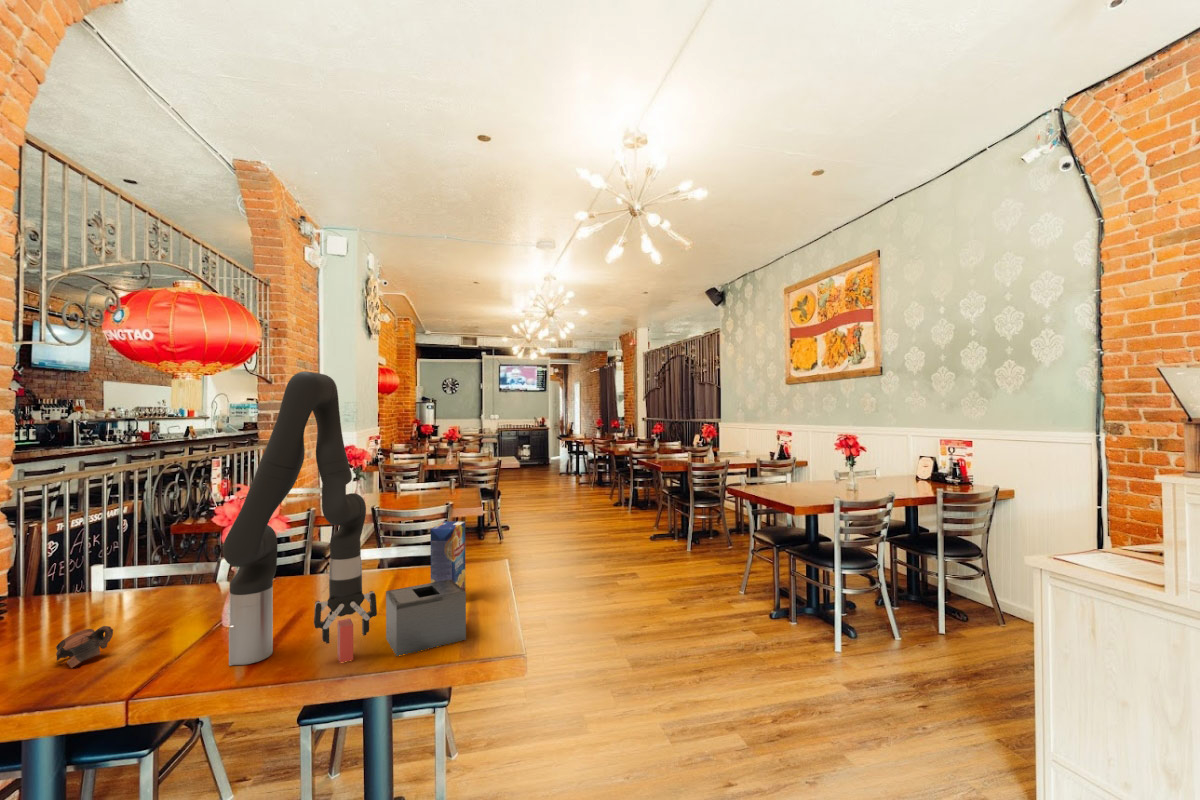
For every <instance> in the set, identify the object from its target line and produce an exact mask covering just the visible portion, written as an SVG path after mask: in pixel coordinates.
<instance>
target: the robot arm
mask: <svg viewBox="0 0 1200 800" xmlns="http://www.w3.org/2000/svg"><path fill="white" fill-rule="evenodd" d="M339 404H340V403H339V391H338V387H337V384H336V381H335V380H334V379H333V378H332V377H331V376H329V375H327V374H323V373H319V372H313V371H299V372H297V373H295V374H294V375H292V376H291V378H290V379H289V380H288V382H287V385H286V386H285V390H284V393H283V396H282V400H281V404H280V407H279V411H278V415H277V419H276V422H275V424H274V426H273V429H272V432H271V434H270V436H269V437H270V438H269V439H268V442H267V444H266V446H265V450H264V451H263V454H262V456H261V459H260V461H259V463H258V466H257V468H256V472H255V474H254V477H253V480H252V483H251V485H250V487H249V489H248V492H247V494H246V496H245V500H244V502H243V505H242V507H241V509H240V511H239V513H238V515H237V516H236V519H235V521H234V522H233V524H232V526H231V528H230V530H229V531H228V533H227V535H226V537H225V539H224V541H223V545H222V555H223V559H224V560H225V562H226V563H227V564H228V565H230V566H231V567H235V568H238V570H237V572H236V574H235V575H234V576H233V577H232V579H231V581H230V582H229V624H228V626H229V627H228V666H229V667H230V666H231V667H232V666H245V665H251V664H254V663H259V662H261V661H264V660H265V659H267V658H269V657H270V656H271V655H273V652H274V651H273V650H274V649H273V647H274V642H273V641H274V640H273V639H274V637H273V634H274V633H273V632H274V629H273V628H274V626H273V623H274V622H273V621H274V617H273V616H274V612H273V610H274V609H273V608H274V607H273V606H274V604H273V603H274V601H273V599H274V598H273V593H274V592H273V591H274V587H273V585H274V584H273V583H274V577H275V575H276V573H277V572H276V571H277V567H278V566H277V564H278V562H277V561H278V538H277V537H278V536H277V534H276V532H275V530H274V529H273V527H272V526H270V525H268V524H269V523H270V519H271V518H272V517H273V514H274V513H275V511H276V510H277V509H278V507H279V506H280V505H281V504H282V502H284V500H285V498H287V496H288V495H289V493H290V492H291V490H292V489H293V487H294V486H295V484H296V482H297V480H298V477H299V474H300V472H301V469H302V467H303V465H304V462H305V455H306V454H305V450H306V449H305V441H304V440H305V439H304V438H305V437H304V435H305V429H306V426H307V423H308V421H309V418H310V416H311V414H313V415H314V418H315V421H316V427H317V434H316V435H317V437H316V443H315V444H316V445H315V446H316V447H315V459H316V465H317V470H318V473H319V476H320V479H321V480H320V481H321V511H322V514H323V517H324V519H325V520H326V522H328V523H329V524H330V525H332V526H338V530H337V531H336V532H335V533H334V534H333V535H332V536H331V537H330V541H329V567H328V583H329V584H328V586H329V587H328V590H329V591H328V596H329V597H328V599H327V600H325V601H320V600H316V601H315V602H314V613H313V614H314V616H313V625H314V628H315V629H321V630H322V633H321V634H322V635H321V636H322V637H321V638H322V641H323V643H325V644H326V645H328V644H330V626H331V624H332V623H333V622H334V621H335V620H336V618H337V617H344V616H347V615H349V616H350V615H354V614H355V613H357V614H358V615H359V616H361V618H362V619H361V626H362V628H361V633H362V636H367V633H369V631H370V619H372V618H374V617H376V616H377V614H378V611H377V596H376V595H377V594H376V593H375V592H374V591H373V590H371V591H369V592H368V593H364V592H363V573H362V572H363V567H362V566H363V563H362V557H361V556H362V555H361V554H362V553H361V546H362V545H361V536H362V533H363V529H364V524H365V520H366V517H367V515H366V514H367V505H366V502H365V500H364V498H363V496H361V495H360V494H358V493H347V487H346V486H347V485H348V484H349V483H350V482H352V479H353V475H352V470H351V467H350V464H349V460H348V456H347V455H348V454H347V452H346V448H345V443H344V437H343V432H342V431H343V430H342V423H341V413H340V405H339ZM365 599H366V601H367V602H368V603H369V610H370V611H368V612H367V611H366V610H365V609H364V608H363V607H362V606H361V605H362V604H363V601H365ZM326 607H328V608H329V610H330V611H329V612H328V613H327V615H326V617H325V619H324V620H323V621H322V618H321V617H322V612H323V611H325V608H326Z"/></svg>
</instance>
